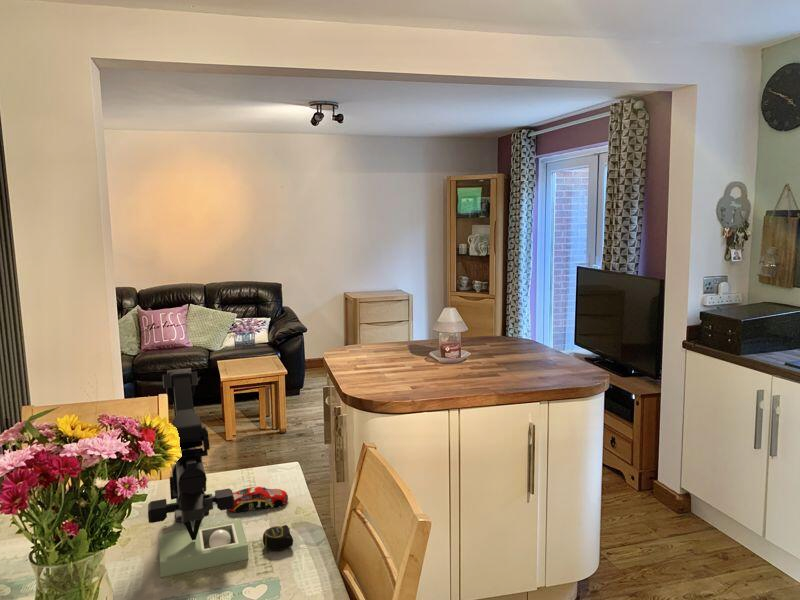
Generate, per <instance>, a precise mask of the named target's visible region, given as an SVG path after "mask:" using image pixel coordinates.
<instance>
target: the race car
mask: <svg viewBox="0 0 800 600" xmlns="http://www.w3.org/2000/svg"><path fill="white" fill-rule="evenodd" d="M233 496H234V505H235V507H234V508H233V509H227V510H229V511H230V512H234V513H239V514H240V513H245V512H248V511H253V510H254V511H255V510H263V509H269V508H275V509H276V508H281V507H282V506H283V505H285V504H287V502H288V500H289V495H288V493H287V492H286V490H284V489H281V488H279V489H278V488H266V487H265V486H264V487H262V486H252V487H247V488H243V489H239V490H238V491H236V492H233Z"/></svg>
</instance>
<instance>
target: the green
mask: <svg viewBox="0 0 800 600" xmlns="http://www.w3.org/2000/svg"><path fill="white" fill-rule="evenodd" d="M217 530H226V531H227V532H228V533H229V534H230V536H231V541H232V543H230V544H227V545H222V546H217V547H212V548H211V547H208V548H205V545H206V544H209V539H210V536H211V535H212V533H213V532H215V531H217ZM204 544H205V545H204ZM245 560H249V544H248V541H247V537H246V532H245V529H244V525H243V523H242V519H235V520H231V521H224V522H219V523H215V524H209V525H203V526H200V527H199V530H198V534H197V537H196V540H192V539H191V537H190V535H189V533H188V530H187V528H186V529H181V530H177V531H172V532H166V533H161V534H159V571H160V572H159V573H160V578H164V577H165V578H166V577H171V576H174V575H179V574H183V573H188V572H193V571H199V570H202V569H208V568H212V567H218V566H221V565H222V566H223V565H226V564H232V563H236V562H240V561H245Z"/></svg>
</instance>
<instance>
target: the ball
mask: <svg viewBox="0 0 800 600" xmlns="http://www.w3.org/2000/svg"><path fill="white" fill-rule="evenodd" d="M231 542H232V538H231V536H230V534H229V533H228V532H227V531H226V530H217V531H215V532H213V533H212V535H211V536H210V539H209V543H208V545H209V548H212V547H217V546H222V545H227V544H232V543H231Z"/></svg>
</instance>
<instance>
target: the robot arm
mask: <svg viewBox="0 0 800 600" xmlns="http://www.w3.org/2000/svg"><path fill="white" fill-rule="evenodd" d="M166 372H167V373H165V374H162V385H163V386H162V387H163V389H166V391H165V392H166V395H167V397H168V398H169V400H171V402H172V403H173V414H174V415H173V417H174V418H173V419H172V420H171V421H172V425H174V426H175V427H176V428H177V430H178V433H179V437H180V447H181V451H182V457H181V458H180V459H179V460H178V461H177V462H176V461H175V462H176V464H175V463H174V464H175V465H174V464H173V466H172V467H171V476H169V490H170V491H169V492H170V500H171V501H172V500H175V501H176V502H172V503H167V498H163V499H157V500H152V501H151V500H150V501H149V503H148V505H147V520H148V523H149V524H153V523H154V524H155V523H158V522H159V523H160V522H164V521H165V520H166V519H167V518H168V515H167V514H170V513H174V514H175V522H176V523H183V525H184V526H185V528H186V529H187V530H188V533H189V535H190V537H191V539H192V540H196V537H197V534H198V530H199V527H201V524H202V521H203V520H204V519H205V517H208V516H210V511H211V510H212V511H213V510H214V506H216V507H217V509H218V510H220V511H221V512H222V511H227V510H228V509H233V508H234V507H235V505H234V496H233V493H234V492H233V490H232V489H231V488H224V489H223V488H221V489H218V490H214V496H213V493H205V492H207V481H208V480H207V474H206V470H205V466H204V464H203V457H207V456H208V454H209V453H208V451H210V440H209V431H208V429H207V427H206V426H205V425H202V421H201V420H202V419H201V416H200V415H199V414H197V413H196V412H195V408H194V401H193V396H194V395H195V392H196V388H195V387H196V386H198V384H199V383H198V371H197V370H196V371H194V370H193V371H192V368H191V367H188V368H177V369H167V371H166ZM172 425H171V426H172ZM202 446H203V447H202ZM192 521H193V523H192ZM192 524H193V525H192Z"/></svg>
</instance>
